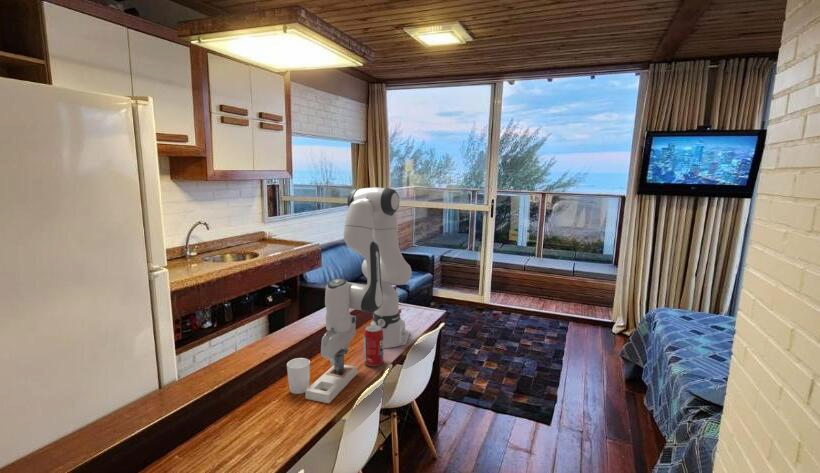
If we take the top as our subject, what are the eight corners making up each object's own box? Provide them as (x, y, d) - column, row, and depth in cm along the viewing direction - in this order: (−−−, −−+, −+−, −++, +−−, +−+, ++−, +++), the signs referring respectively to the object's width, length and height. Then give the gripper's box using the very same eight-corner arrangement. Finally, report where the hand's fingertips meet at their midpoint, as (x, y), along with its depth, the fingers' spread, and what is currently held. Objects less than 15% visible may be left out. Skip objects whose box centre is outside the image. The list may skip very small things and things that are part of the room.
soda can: (360, 363, 165) (359, 328, 162) (374, 356, 170) (374, 322, 168) (373, 369, 160) (372, 333, 157) (387, 363, 165) (387, 327, 163)
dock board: (335, 370, 159) (335, 362, 158) (356, 374, 156) (356, 366, 155) (305, 398, 139) (305, 389, 139) (328, 403, 136) (328, 394, 136)
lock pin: (337, 375, 155) (336, 347, 153) (347, 377, 154) (346, 349, 152) (331, 380, 151) (330, 352, 149) (341, 382, 150) (341, 354, 148)
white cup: (315, 385, 148) (314, 359, 146) (302, 397, 140) (301, 369, 139) (296, 381, 150) (295, 356, 148) (283, 392, 143) (282, 366, 141)
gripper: (331, 335, 138) (333, 373, 140) (358, 315, 157) (359, 348, 160) (315, 333, 140) (317, 370, 142) (343, 313, 159) (344, 346, 162)
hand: (339, 358), depth 151 cm, fingers open, 8 cm apart
